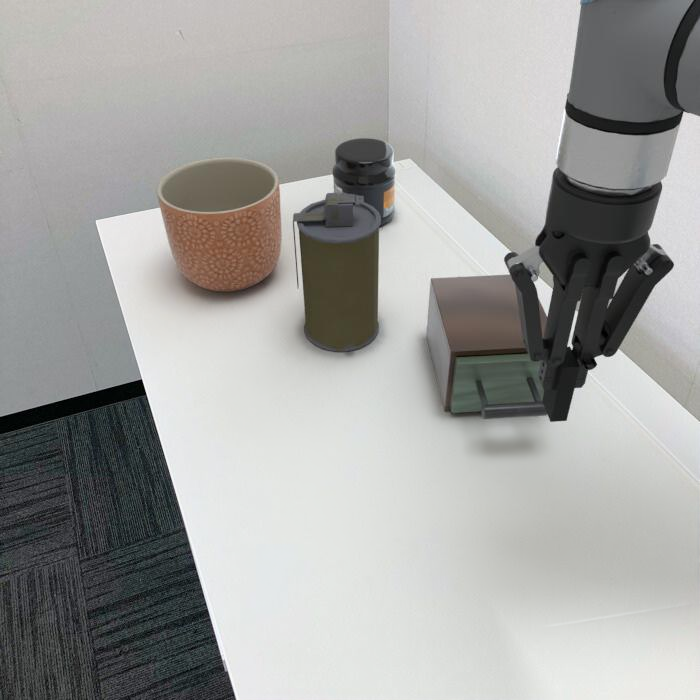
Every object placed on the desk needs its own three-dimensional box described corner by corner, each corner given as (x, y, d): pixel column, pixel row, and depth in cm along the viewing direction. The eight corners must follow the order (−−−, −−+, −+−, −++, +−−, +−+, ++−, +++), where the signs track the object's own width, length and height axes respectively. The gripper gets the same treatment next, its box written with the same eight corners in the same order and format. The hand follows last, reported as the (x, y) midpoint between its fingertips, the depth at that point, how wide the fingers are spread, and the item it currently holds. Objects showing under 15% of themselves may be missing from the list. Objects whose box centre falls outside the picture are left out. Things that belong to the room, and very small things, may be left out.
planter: (173, 311, 102) (153, 218, 92) (177, 249, 114) (159, 161, 105) (290, 299, 104) (283, 207, 94) (281, 239, 116) (274, 152, 106)
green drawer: (559, 442, 80) (572, 393, 75) (460, 448, 80) (467, 398, 75) (517, 336, 95) (526, 289, 90) (433, 341, 94) (437, 293, 89)
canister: (376, 304, 102) (378, 177, 89) (381, 351, 94) (384, 219, 82) (301, 307, 102) (292, 180, 89) (300, 353, 94) (290, 221, 81)
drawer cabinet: (546, 405, 86) (560, 345, 80) (444, 411, 86) (450, 351, 79) (516, 331, 97) (527, 273, 91) (426, 336, 97) (430, 278, 91)
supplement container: (403, 207, 124) (406, 142, 116) (380, 236, 117) (381, 169, 109) (349, 196, 128) (348, 132, 120) (323, 223, 120) (320, 157, 113)
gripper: (675, 146, 53) (609, 379, 68) (504, 154, 53) (475, 387, 68) (723, 192, 47) (639, 435, 62) (531, 202, 47) (493, 445, 62)
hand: (554, 410), depth 65 cm, fingers closed
